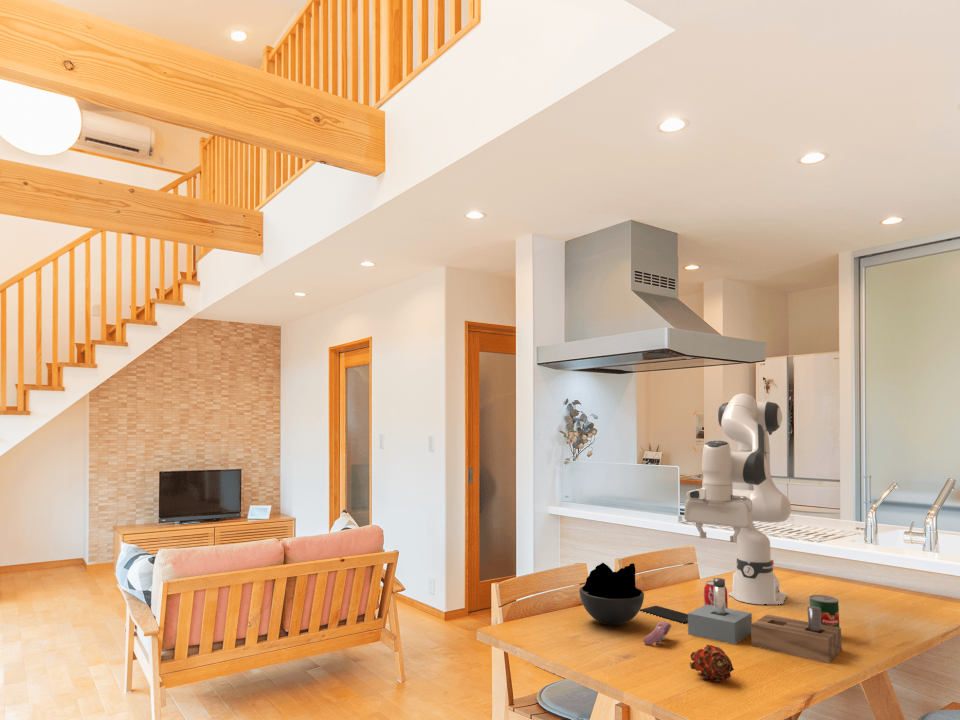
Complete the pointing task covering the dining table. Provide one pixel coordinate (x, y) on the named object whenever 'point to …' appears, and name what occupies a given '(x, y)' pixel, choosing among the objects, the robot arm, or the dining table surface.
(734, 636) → the socket block
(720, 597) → the long rounded cylinder
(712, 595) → the soda can
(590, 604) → the coal bowl
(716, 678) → the dragon fruit
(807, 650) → the rack
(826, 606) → the canned tomato
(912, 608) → the dining table surface
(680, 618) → the cell phone
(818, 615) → the dark grey rounded rod
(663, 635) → the pink curved piece
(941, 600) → the dining table surface
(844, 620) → the dining table surface
